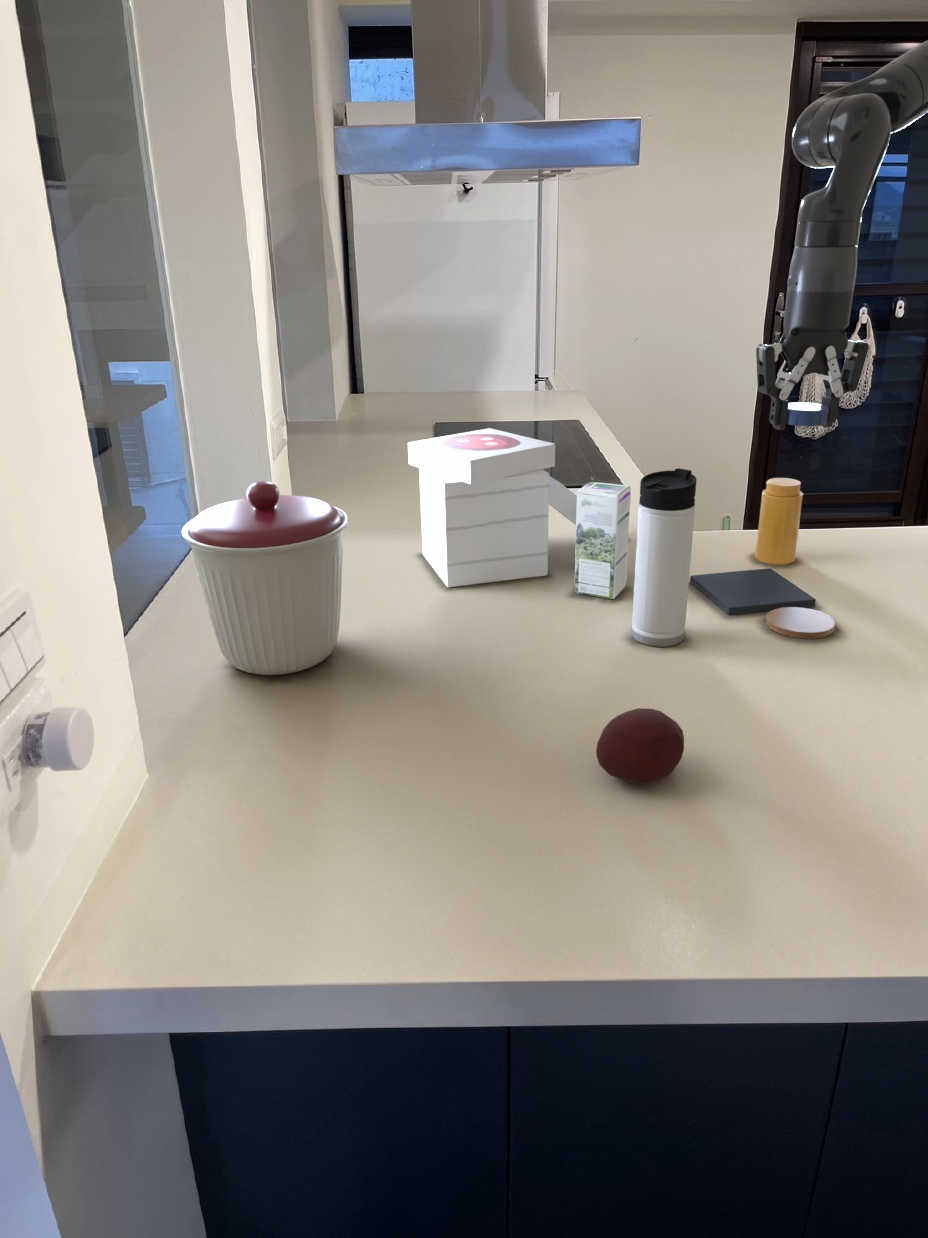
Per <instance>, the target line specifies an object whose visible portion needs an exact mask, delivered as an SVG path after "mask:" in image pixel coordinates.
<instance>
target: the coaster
mask: <svg viewBox="0 0 928 1238" xmlns="http://www.w3.org/2000/svg"><path fill="white" fill-rule="evenodd" d="M765 624H766V626H767V627H768V628H769V629H770V630H772V631H773V632H775V633H777V634H780V635H783V636H787V637H791V638H795V639H806V640H809V639H810V640H812V639H822V638H825V637H828V636H831V635H832V634H833V633H834V632H835V630H836V629H835V628H836V621H835V619H834V618H833V617H832V616H830V615H828V614H827V613H824V612H822V611H819V610H817V609H812V608H809V607H802V608H801V607H783V608H777V609H774V610H772V611H768V612H767V614H766V617H765Z"/></svg>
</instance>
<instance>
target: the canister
mask: <svg viewBox="0 0 928 1238" xmlns="http://www.w3.org/2000/svg"><path fill="white" fill-rule="evenodd" d="M349 521H350V520H349V515H348V514H347V513H346V512H345V511H344V510H342V509H340V508H339V507H336V506H334V505H332V504H331V503H329V502H328V501H325V500H322V499H320V498H319V499H318V498H316V497H311V496H306V495H294V494H293V495H292V494H281V493H280V489H279V487H278V485H276V484H275V483H273V482H272V481H269V480H259V481H256V482H253V483H252V484H251V485H249V486H248V488H247V489H246V497H242V498H237V499H232V500H229V501H225V502H222V503H218V504H215V505H213V506H210V507H208V508H207V509H205V510H202V511H201V512H200V513H199V514H197V516H195V517H194V518H192V519H191V520H189V521H188V522H187V523H186V524H185V525H184V526H183V527H182V529H181V535H182V538H183V540H184V541H185V542H186V543H187V544H189V545H190V548H191V552H192V555H193V560H194V564H195V567H196V571H197V575H198V579H199V581H200V586H201V590H202V593H203V597H204V601H205V605H206V608H207V611H208V612H207V613H208V616H209V618H210V622H211V625H212V628H213V631H214V632H213V633H214V636H215V639H216V641H217V644H218V647H219V650H220V652H221V654H222V655H223V657H224V658H225V660H226V661H227V662H228V663H229V664H230V665H231V666H233V667H234V668H235V669H238V670H240V671H242V672H246V673H248V674H254V675H262V676H274V675H275V676H276V675H277V676H280V675H288V674H294V673H297V672H303V671H305V670H307V669H310V668H312V667H314V666H317V665H318V664H321V663H322V662H323V661H325V660H326V659H327V658H328V657H329V656H330V655H331V654H332V652H333V651H334V648H335V647H336V645H337V642H338V637H339V633H340V623H341V622H340V619H341V605H342V584H343V583H342V582H343V557H344V556H343V554H344V553H343V552H344V531H345V530H346V529H347V527H348V525H349Z"/></svg>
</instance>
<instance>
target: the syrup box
mask: <svg viewBox="0 0 928 1238" xmlns="http://www.w3.org/2000/svg"><path fill="white" fill-rule="evenodd" d="M631 488H632V486H631V485H625V484H617V483H609V482H608V483H607V482H597V481H589V482H587V483H586V484H584V485H583V486H582V487H581V488H580V489H578V490H577V491H576V496H577V512H576V525H575V551H574V552H575V553H574V555H575V556H574V557H575V560H574V593H575V594H578V595H584V596H589V597H590V596H591V597H596V598H602V599H607V600H608V599H609V600H614V599H615V598H616V597H617V596H619V594H620V593H621V592H622V591H623V590H624V589H625V588H626V586H627V569H628V567H627V566H628V565H627V564H628V547H629V544H628V537H629V529H630V528H629V527H630V515H631V514H630V513H631V512H630V511H631V491H632V489H631Z"/></svg>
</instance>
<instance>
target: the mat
mask: <svg viewBox="0 0 928 1238" xmlns="http://www.w3.org/2000/svg"><path fill="white" fill-rule="evenodd" d="M689 584H691V585H692V586H694V587H695V588H696V589H697V590H698V591H700V592H701V593H702V594H703V595H705V596H706V597H707V598H708V599H709V600H710V601H711V602H713V603H714V604H715V605H717V607H718V608H719V609H721V610H722V611H723V612H724V613H725V614H727V615H728V616H731V615H742V614H753V613H760V612H761V613H763V612H770V611H772V610H774V609H777V608H783V607H801V608H810V607H816V604H817V603H816V602H817V599H816V598H815V597H813V596H812V595H810V594H809V593H808V592H806V591H804V589H802V588H800V587H799V586H798V585H796V584H794V583H793V582H791V581H790V580H789V579H787V578H786V577H784V576H783V575H781V574H779V572H777V571H776V570H774V569H772V568H770V567H769V568H758V569H756V568H755V569H746V570H736V571H735V570H734V571H726V572H725V571H724V572H715V573H705V574H692V575H689Z"/></svg>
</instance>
